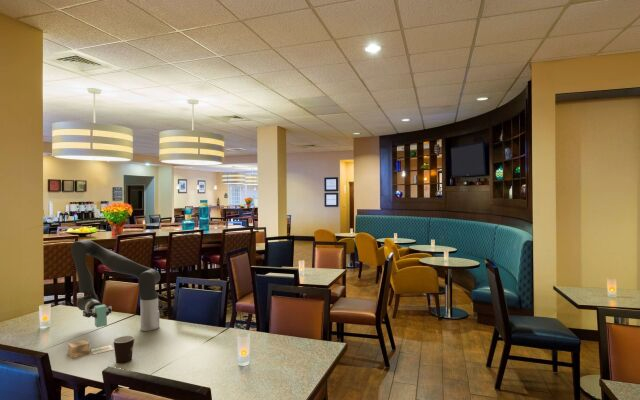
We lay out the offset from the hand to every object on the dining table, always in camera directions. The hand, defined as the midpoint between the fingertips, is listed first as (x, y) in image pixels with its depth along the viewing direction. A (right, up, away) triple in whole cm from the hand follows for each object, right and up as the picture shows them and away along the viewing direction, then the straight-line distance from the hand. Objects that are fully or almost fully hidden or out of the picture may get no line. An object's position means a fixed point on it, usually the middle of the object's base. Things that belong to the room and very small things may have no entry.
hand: (101, 314), depth 193 cm
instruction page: (+4, -15, -7) cm, 17 cm away
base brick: (-5, -15, -11) cm, 20 cm away
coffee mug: (+22, -15, -18) cm, 32 cm away
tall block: (-2, -6, +2) cm, 7 cm away
